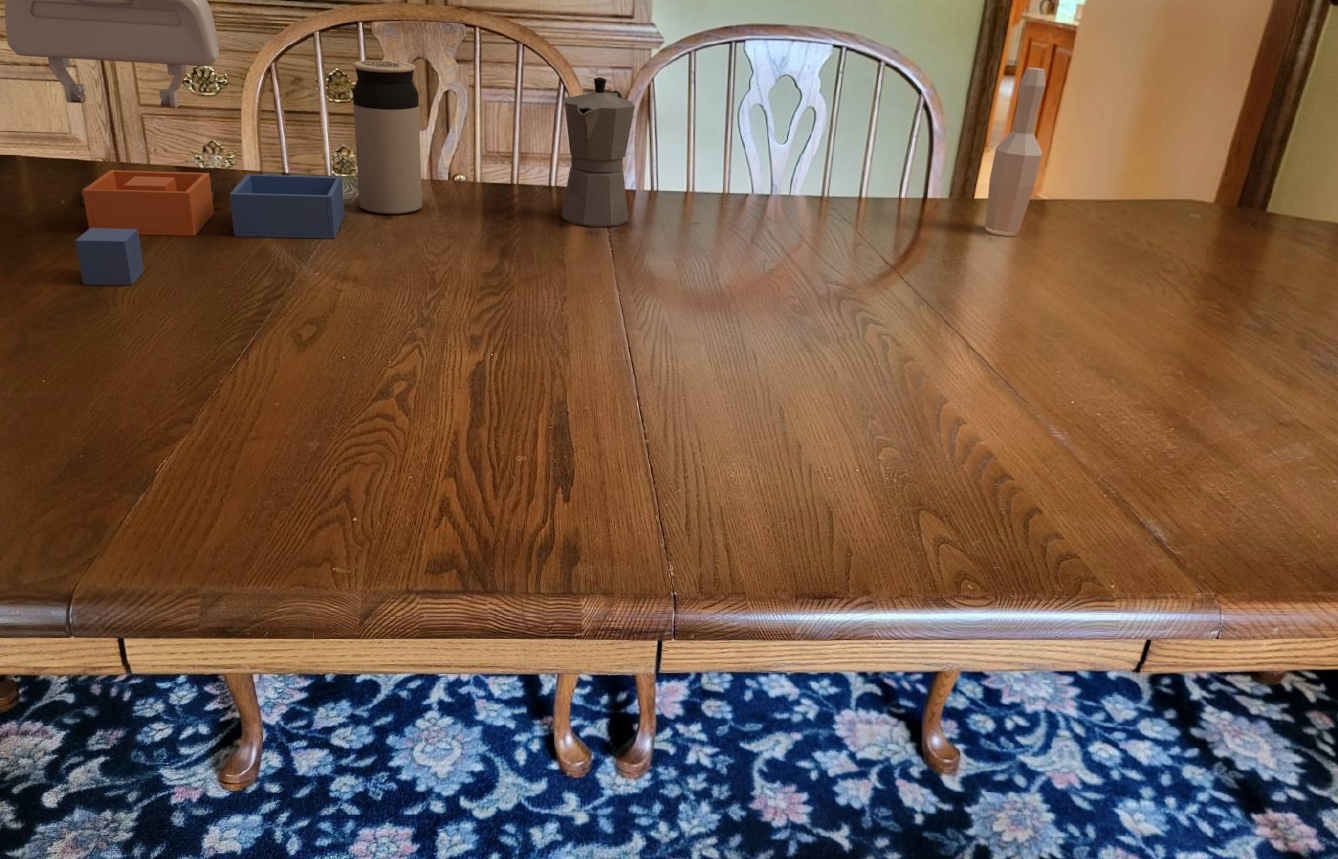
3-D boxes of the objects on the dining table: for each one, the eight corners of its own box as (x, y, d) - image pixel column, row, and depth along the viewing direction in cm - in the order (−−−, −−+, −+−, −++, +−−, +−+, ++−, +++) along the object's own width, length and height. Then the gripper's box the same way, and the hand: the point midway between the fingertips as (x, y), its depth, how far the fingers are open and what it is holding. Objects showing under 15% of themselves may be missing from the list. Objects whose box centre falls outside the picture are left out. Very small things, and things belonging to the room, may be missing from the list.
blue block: (83, 284, 104) (75, 240, 102) (97, 270, 108) (90, 227, 106) (131, 285, 105) (124, 241, 103) (144, 271, 109) (138, 228, 107)
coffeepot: (614, 234, 133) (620, 87, 126) (544, 225, 135) (546, 79, 128) (646, 208, 147) (654, 73, 139) (582, 200, 149) (586, 67, 141)
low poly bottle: (1030, 239, 146) (1067, 73, 136) (984, 236, 146) (1018, 69, 136) (1018, 227, 151) (1052, 67, 142) (974, 224, 151) (1005, 64, 142)
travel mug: (367, 217, 133) (359, 68, 126) (353, 202, 140) (344, 59, 132) (429, 213, 137) (425, 68, 129) (413, 199, 143) (407, 60, 135)
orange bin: (89, 233, 119) (82, 189, 117) (117, 211, 128) (110, 170, 126) (194, 236, 121) (189, 192, 119) (214, 213, 130) (209, 172, 128)
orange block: (129, 223, 122) (123, 184, 120) (140, 213, 126) (134, 176, 124) (170, 224, 123) (165, 186, 121) (180, 214, 127) (175, 177, 125)
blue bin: (234, 236, 122) (229, 193, 120) (250, 214, 131) (246, 174, 129) (334, 238, 124) (331, 196, 122) (344, 216, 133) (341, 176, 131)
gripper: (-19, -42, 104) (7, 103, 110) (202, -25, 108) (216, 114, 114) (6, -43, 110) (29, 94, 115) (215, -28, 113) (227, 105, 119)
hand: (123, 104), depth 115 cm, fingers open, 8 cm apart
